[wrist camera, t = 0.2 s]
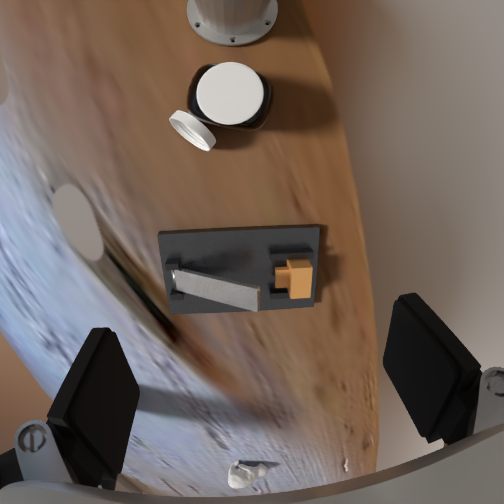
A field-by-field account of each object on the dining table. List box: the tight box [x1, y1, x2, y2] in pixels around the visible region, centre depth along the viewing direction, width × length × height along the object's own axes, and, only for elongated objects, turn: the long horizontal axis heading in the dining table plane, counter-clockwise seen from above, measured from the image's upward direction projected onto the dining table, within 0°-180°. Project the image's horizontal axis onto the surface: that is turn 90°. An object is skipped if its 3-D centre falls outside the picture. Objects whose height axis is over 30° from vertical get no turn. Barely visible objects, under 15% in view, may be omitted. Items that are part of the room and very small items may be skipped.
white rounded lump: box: [228, 460, 268, 488], centre depth 71 cm, size 6×8×12 cm
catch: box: [275, 259, 313, 299], centre depth 46 cm, size 5×5×4 cm
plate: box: [158, 224, 320, 314], centre depth 47 cm, size 14×24×4 cm, turn 91°
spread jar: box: [169, 62, 274, 151], centre depth 34 cm, size 12×11×12 cm
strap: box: [171, 268, 260, 312], centre depth 44 cm, size 4×14×1 cm, turn 91°
